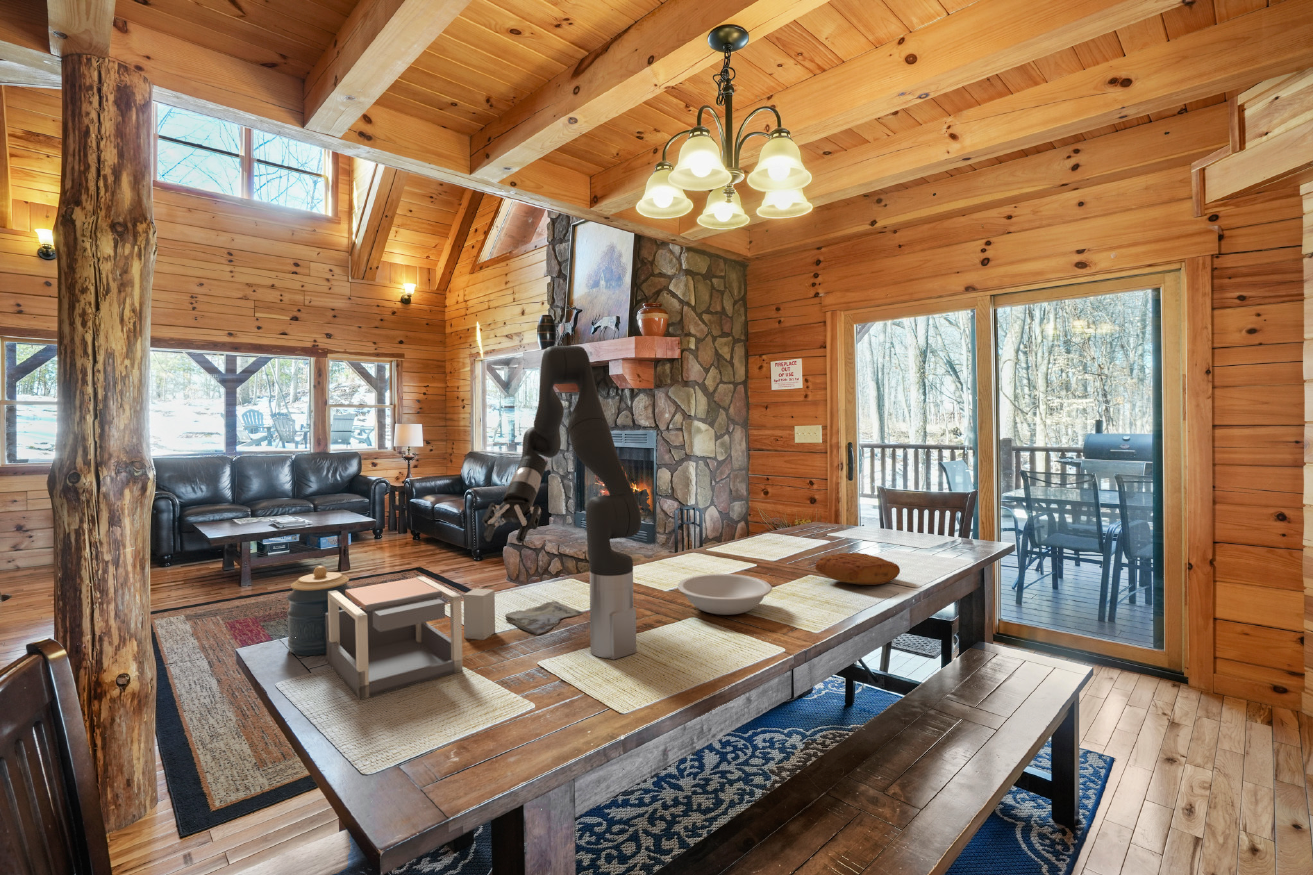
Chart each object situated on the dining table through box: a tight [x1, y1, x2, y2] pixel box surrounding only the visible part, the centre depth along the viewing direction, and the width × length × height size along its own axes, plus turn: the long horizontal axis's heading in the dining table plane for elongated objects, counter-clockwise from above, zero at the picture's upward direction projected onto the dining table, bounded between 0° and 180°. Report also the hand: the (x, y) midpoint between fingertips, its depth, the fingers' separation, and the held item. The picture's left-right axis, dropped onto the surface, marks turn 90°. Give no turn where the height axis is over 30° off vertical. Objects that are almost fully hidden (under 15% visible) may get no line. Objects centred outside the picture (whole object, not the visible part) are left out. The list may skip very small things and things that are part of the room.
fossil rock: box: [504, 600, 584, 636], centre depth 155 cm, size 18×15×2 cm
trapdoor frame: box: [325, 575, 463, 701], centre depth 126 cm, size 24×19×15 cm
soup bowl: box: [677, 573, 773, 616], centre depth 160 cm, size 24×24×7 cm
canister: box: [286, 565, 355, 657], centre depth 137 cm, size 13×13×18 cm
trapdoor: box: [345, 577, 446, 632], centre depth 123 cm, size 18×14×4 cm
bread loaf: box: [814, 552, 901, 586], centre depth 186 cm, size 22×17×8 cm
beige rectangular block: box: [463, 588, 496, 641], centre depth 143 cm, size 5×5×10 cm
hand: (502, 540), depth 154 cm, fingers open, 8 cm apart
